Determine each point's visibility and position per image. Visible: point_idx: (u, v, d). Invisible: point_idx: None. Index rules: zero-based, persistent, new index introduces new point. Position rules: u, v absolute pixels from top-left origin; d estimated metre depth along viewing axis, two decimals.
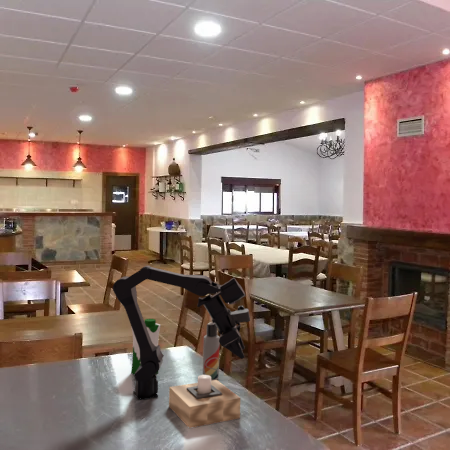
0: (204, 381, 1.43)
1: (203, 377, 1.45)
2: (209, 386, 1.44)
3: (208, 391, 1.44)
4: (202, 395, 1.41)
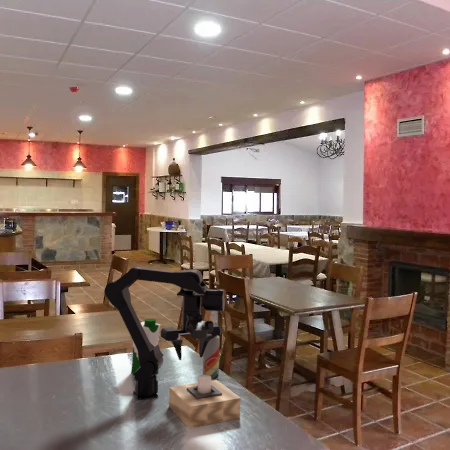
0: (204, 381, 1.43)
1: (203, 377, 1.45)
2: (209, 386, 1.44)
3: (208, 391, 1.44)
4: (202, 395, 1.41)
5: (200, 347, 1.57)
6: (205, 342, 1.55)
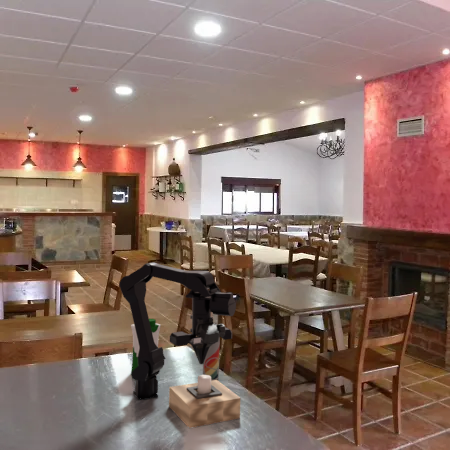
0: (204, 381, 1.43)
1: (203, 377, 1.45)
2: (209, 386, 1.44)
3: (208, 391, 1.44)
4: (202, 395, 1.41)
5: None
6: (206, 348, 1.47)
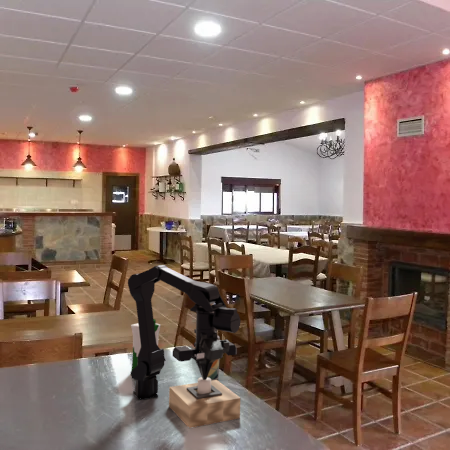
0: (204, 383, 1.43)
1: None
2: (209, 388, 1.44)
3: None
4: (202, 395, 1.41)
5: None
6: (209, 363, 1.44)
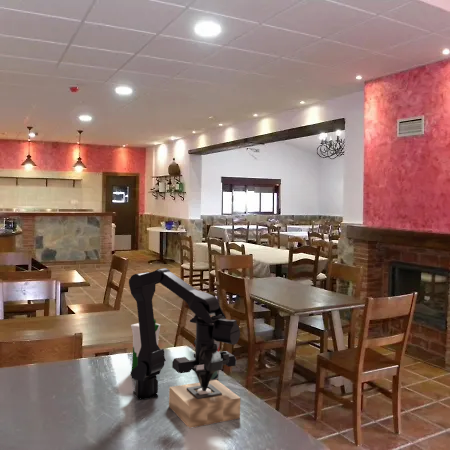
0: None
1: None
2: None
3: None
4: (202, 395, 1.41)
5: None
6: (209, 374, 1.44)
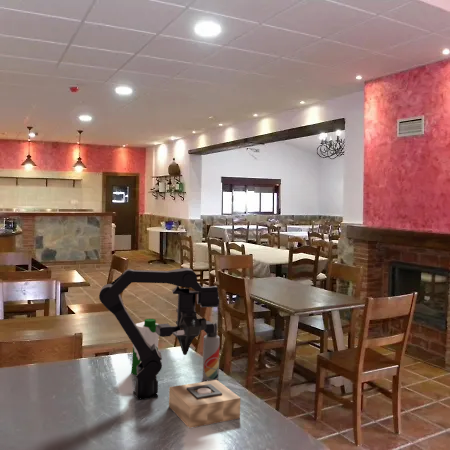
0: None
1: (203, 390, 1.45)
2: None
3: None
4: (202, 395, 1.41)
5: (185, 345, 1.59)
6: (189, 340, 1.58)
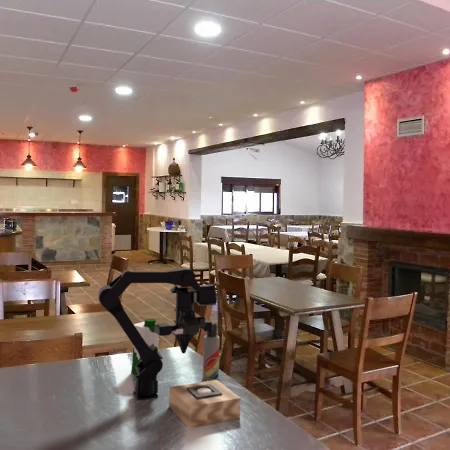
0: None
1: (203, 390, 1.45)
2: None
3: None
4: (202, 395, 1.41)
5: None
6: (188, 338, 1.59)
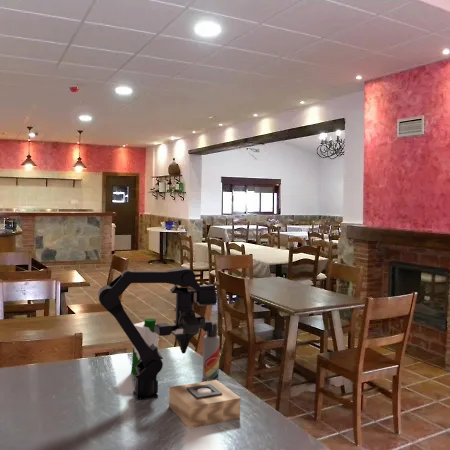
0: None
1: (203, 390, 1.45)
2: None
3: None
4: (202, 395, 1.41)
5: None
6: (188, 338, 1.59)
